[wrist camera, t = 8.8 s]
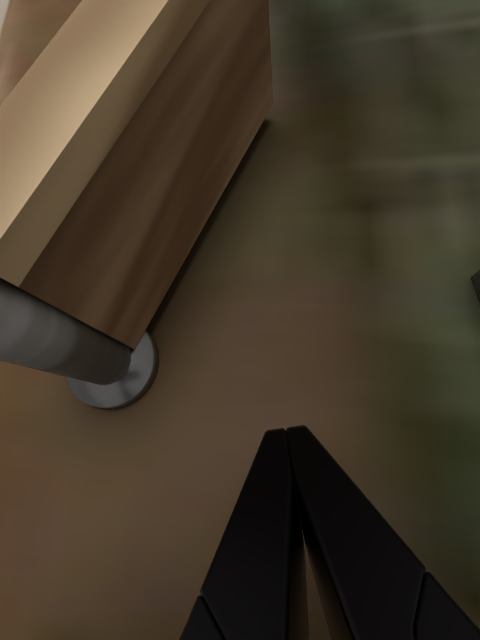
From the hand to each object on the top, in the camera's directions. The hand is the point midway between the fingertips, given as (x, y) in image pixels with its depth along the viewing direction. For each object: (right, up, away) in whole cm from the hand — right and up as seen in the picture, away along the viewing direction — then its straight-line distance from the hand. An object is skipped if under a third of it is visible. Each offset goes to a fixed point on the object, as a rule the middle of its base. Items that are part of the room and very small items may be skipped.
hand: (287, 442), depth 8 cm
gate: (-4, +7, +11) cm, 14 cm away
